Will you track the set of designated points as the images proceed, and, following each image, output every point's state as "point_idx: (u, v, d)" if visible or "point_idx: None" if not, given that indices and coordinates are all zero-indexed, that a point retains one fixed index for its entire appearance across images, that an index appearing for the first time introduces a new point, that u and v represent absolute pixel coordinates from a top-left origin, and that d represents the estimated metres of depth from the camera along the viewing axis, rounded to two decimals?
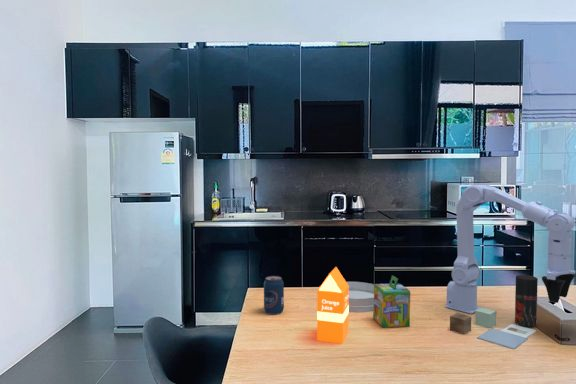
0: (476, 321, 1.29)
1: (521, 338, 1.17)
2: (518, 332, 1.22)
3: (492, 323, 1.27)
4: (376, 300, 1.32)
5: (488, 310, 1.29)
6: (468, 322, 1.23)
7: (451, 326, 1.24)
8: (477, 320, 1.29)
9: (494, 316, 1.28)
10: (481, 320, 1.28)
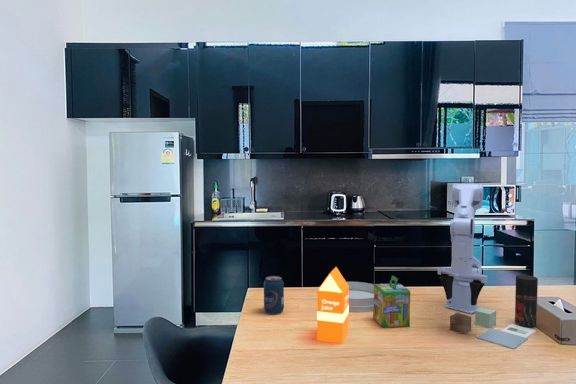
0: (476, 321, 1.29)
1: (521, 338, 1.17)
2: (518, 332, 1.22)
3: (492, 323, 1.27)
4: (376, 300, 1.32)
5: (488, 310, 1.29)
6: (468, 322, 1.23)
7: (451, 326, 1.24)
8: (477, 320, 1.29)
9: (494, 316, 1.28)
10: (481, 320, 1.28)
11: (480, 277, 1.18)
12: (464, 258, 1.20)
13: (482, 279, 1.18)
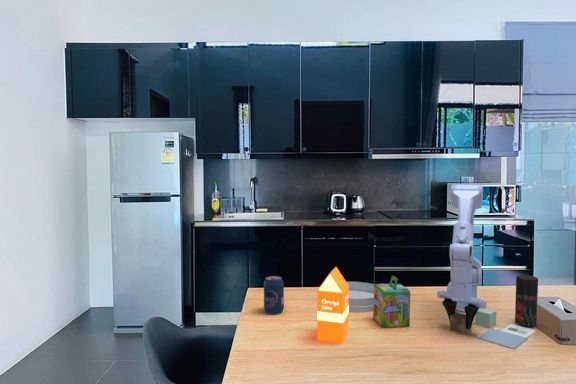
0: (476, 321, 1.29)
1: (521, 338, 1.17)
2: (518, 332, 1.22)
3: (492, 323, 1.27)
4: (376, 300, 1.32)
5: (488, 310, 1.29)
6: None
7: (451, 326, 1.24)
8: (477, 320, 1.29)
9: (494, 316, 1.28)
10: (481, 320, 1.28)
11: (479, 302, 1.18)
12: (463, 283, 1.21)
13: (481, 305, 1.18)
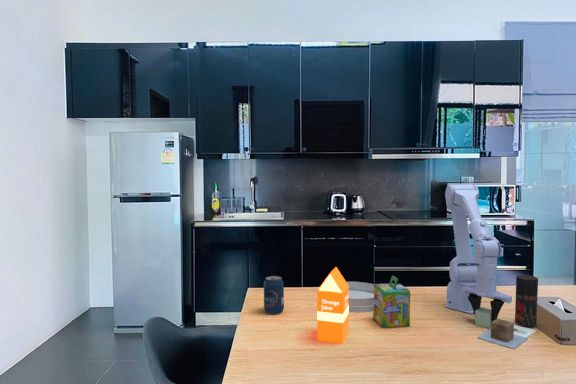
0: (476, 321, 1.29)
1: (521, 338, 1.17)
2: (518, 332, 1.22)
3: None
4: (376, 300, 1.32)
5: (488, 310, 1.29)
6: (511, 329, 1.16)
7: (492, 333, 1.18)
8: (477, 320, 1.29)
9: None
10: (481, 319, 1.28)
11: (505, 297, 1.23)
12: (493, 279, 1.25)
13: (507, 299, 1.23)
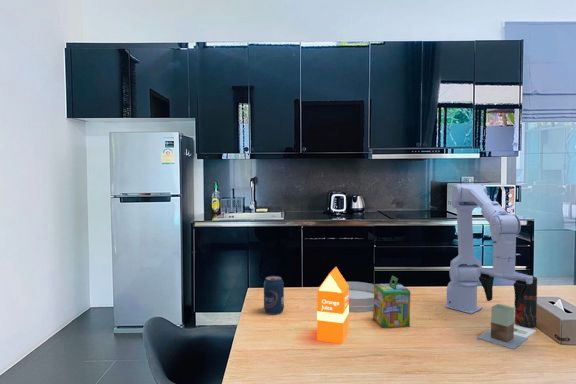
0: (492, 318, 1.18)
1: (521, 338, 1.17)
2: (518, 332, 1.22)
3: (511, 321, 1.16)
4: (376, 300, 1.32)
5: (505, 306, 1.18)
6: (511, 329, 1.16)
7: (492, 333, 1.18)
8: (493, 317, 1.17)
9: (512, 313, 1.16)
10: (498, 317, 1.16)
11: (525, 278, 1.12)
12: (512, 257, 1.14)
13: (527, 280, 1.11)
